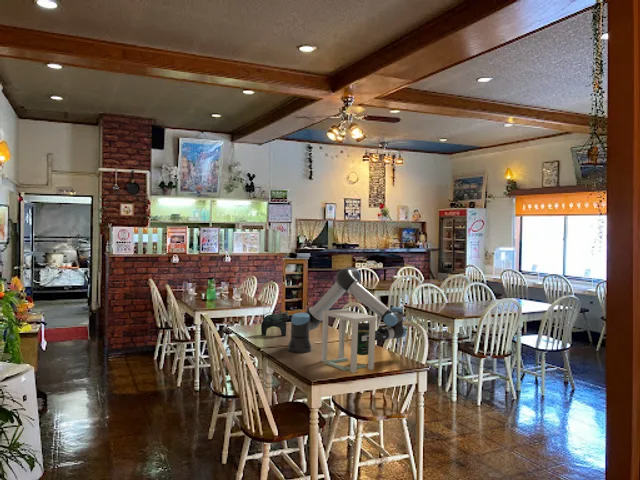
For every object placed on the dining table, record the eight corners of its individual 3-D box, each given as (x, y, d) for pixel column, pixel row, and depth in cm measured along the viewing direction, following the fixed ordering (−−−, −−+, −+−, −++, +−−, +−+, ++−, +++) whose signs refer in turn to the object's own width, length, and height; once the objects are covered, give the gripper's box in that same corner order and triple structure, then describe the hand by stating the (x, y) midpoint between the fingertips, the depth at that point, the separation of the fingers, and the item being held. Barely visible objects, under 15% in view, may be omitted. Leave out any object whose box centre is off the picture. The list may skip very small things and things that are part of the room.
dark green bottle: (358, 356, 299) (359, 324, 298) (352, 352, 306) (353, 322, 306) (373, 355, 302) (374, 323, 302) (366, 352, 310) (367, 321, 309)
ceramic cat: (288, 335, 378) (289, 307, 377) (287, 336, 371) (288, 309, 371) (261, 334, 377) (262, 307, 377) (260, 336, 371) (261, 308, 370)
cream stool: (351, 373, 281) (353, 319, 280) (319, 361, 305) (320, 310, 304) (374, 369, 291) (376, 316, 290) (341, 357, 315) (343, 309, 315)
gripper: (397, 343, 306) (368, 347, 293) (373, 336, 323) (345, 340, 310) (397, 330, 306) (369, 334, 293) (373, 324, 323) (345, 327, 309)
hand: (357, 337), depth 301 cm, fingers closed on dark green bottle, 8 cm apart
